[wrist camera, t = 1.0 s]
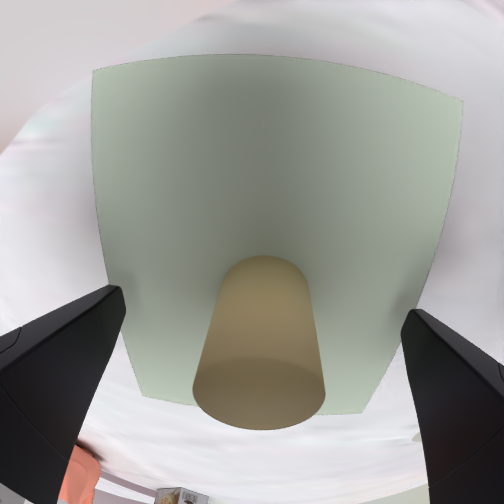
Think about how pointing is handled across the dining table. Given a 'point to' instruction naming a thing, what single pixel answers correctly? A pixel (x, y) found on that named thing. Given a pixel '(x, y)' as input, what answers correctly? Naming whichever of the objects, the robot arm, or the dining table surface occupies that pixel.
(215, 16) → the dining table surface
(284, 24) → the dining table surface
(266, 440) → the dining table surface
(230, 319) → the lid
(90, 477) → the teapot
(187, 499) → the coffee box
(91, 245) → the dining table surface
